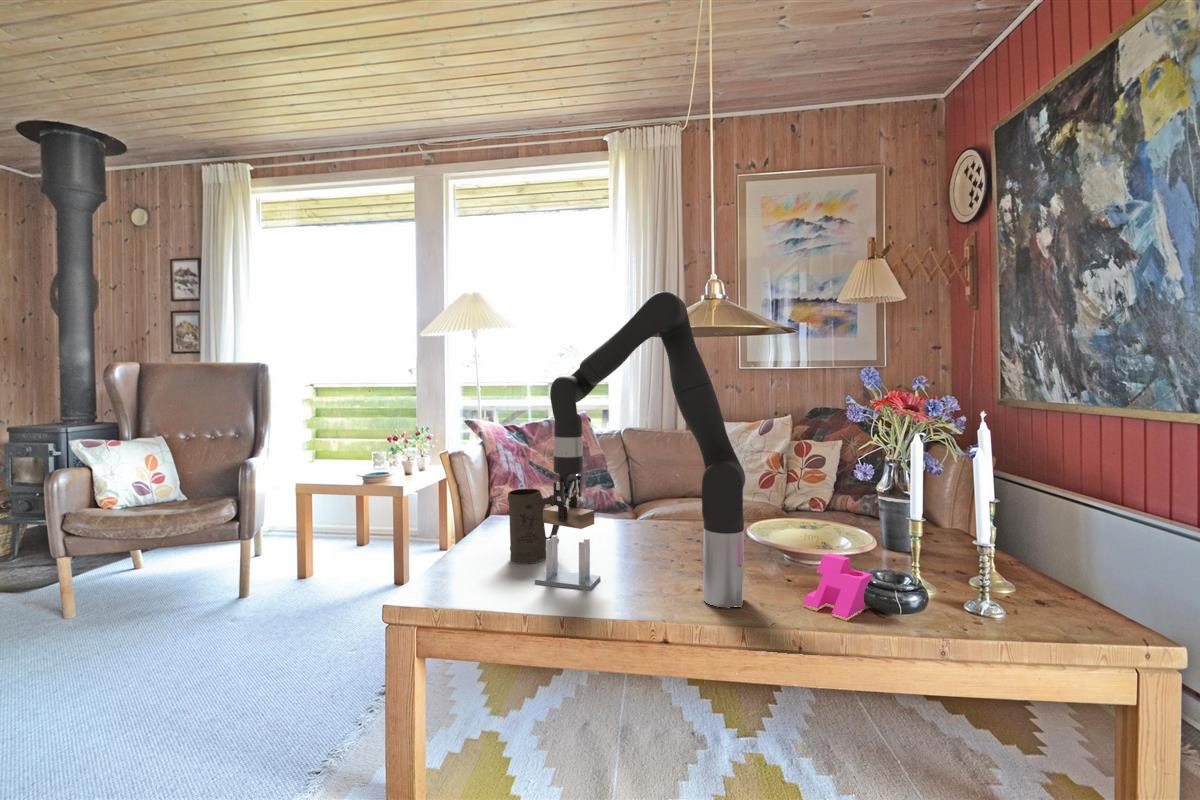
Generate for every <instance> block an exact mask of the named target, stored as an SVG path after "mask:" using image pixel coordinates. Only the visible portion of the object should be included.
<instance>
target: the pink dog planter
mask: <svg viewBox="0 0 1200 800" xmlns="http://www.w3.org/2000/svg"><path fill="white" fill-rule="evenodd" d="M816 573H817V574H820V575H821V574H822V577H821V579H820V581H819V582H818V583H819V584H818V585H817V588H816V590H813V591H812V592H810V593H808V594H806V596H805V598H804V601H803V603H802V605H803V604H805V605H808V606H812V607H815V608H819V607H820V606H822V605H824V604H825V603H828V604H831V605H834V608H833V609H832V611H831V614H832V613H833V614H836V615H839V616H842V617H845V618H848V617H850V616H851V615H853V614H854V613H856V612H858V611H859V610H861V609H863V608H864V607H865V603H864V592H865V589H866V587H867V585H868V583H869V582H870V580H871V579H872V580H873V574H872V573H868V572H864V571H859V570H858V569H857V570H856V569H852V568H851V558H850V557H847V556H843V555H839V554H834V553H830V552H827V553H826V554H824V555H823V556H822V559H821V560H820V562H819V565H818V567H817V569H816Z"/></svg>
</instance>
